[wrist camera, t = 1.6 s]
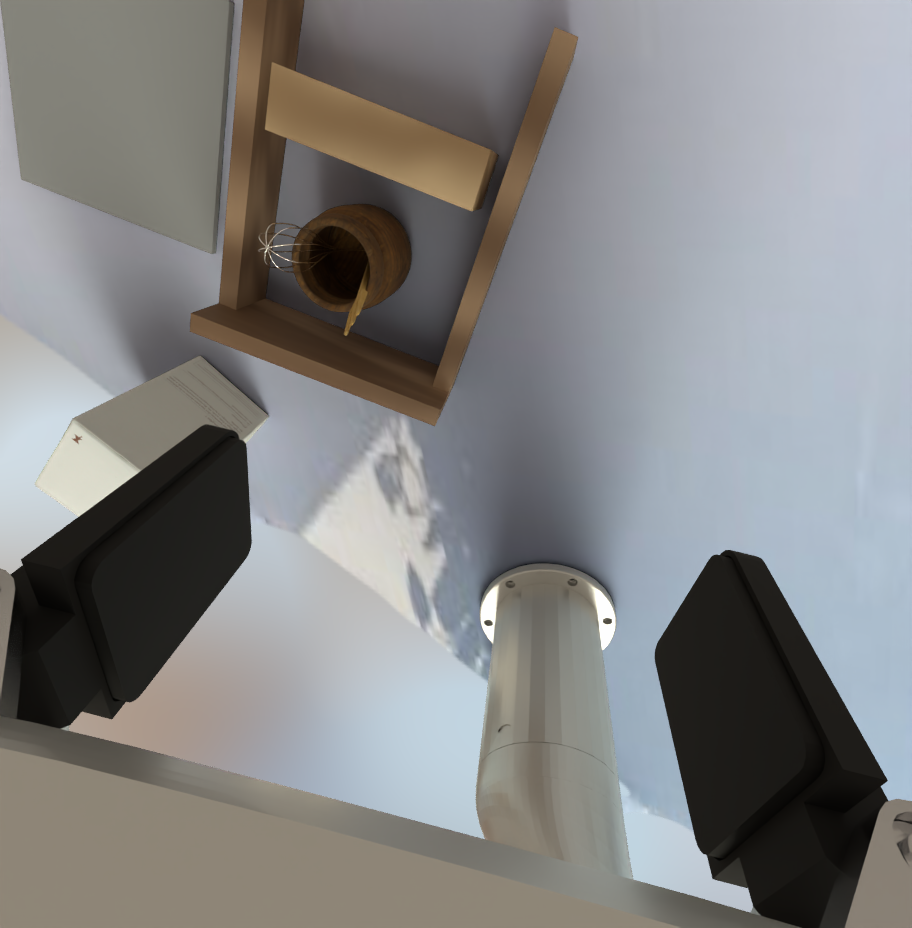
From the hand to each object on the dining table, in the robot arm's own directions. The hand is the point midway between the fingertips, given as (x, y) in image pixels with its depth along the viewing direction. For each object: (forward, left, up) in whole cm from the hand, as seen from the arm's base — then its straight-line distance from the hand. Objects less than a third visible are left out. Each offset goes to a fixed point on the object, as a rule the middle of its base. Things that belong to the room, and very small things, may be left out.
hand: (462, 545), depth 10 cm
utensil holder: (-1, +10, -27) cm, 29 cm away
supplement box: (-18, +20, -27) cm, 39 cm away
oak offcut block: (+5, +10, -27) cm, 30 cm away
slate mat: (+2, +28, -27) cm, 39 cm away
